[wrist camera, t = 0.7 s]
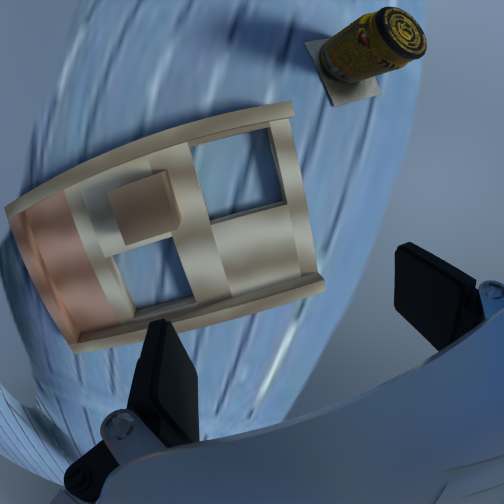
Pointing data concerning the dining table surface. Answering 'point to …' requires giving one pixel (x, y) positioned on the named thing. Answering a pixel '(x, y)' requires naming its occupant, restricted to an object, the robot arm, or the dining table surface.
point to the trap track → (185, 238)
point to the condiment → (366, 53)
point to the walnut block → (145, 208)
